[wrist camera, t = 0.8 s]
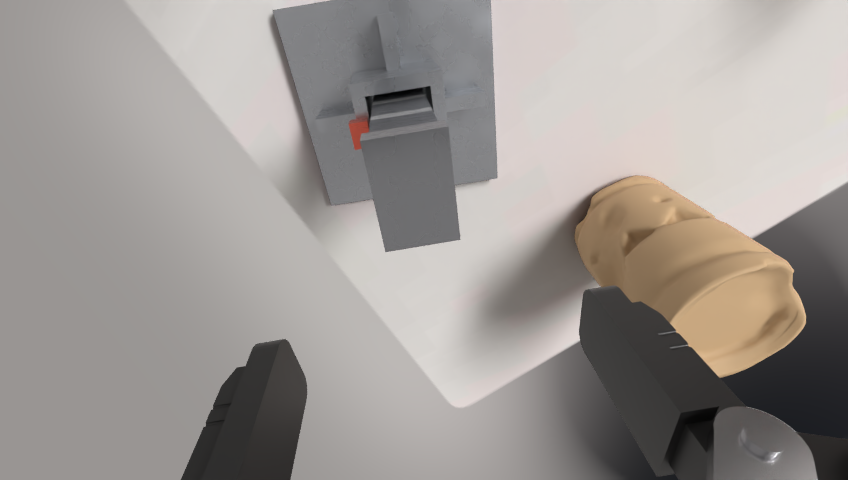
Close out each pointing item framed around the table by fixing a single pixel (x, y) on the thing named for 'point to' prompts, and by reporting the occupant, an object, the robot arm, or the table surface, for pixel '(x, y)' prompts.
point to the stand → (391, 78)
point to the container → (691, 272)
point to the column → (410, 171)
